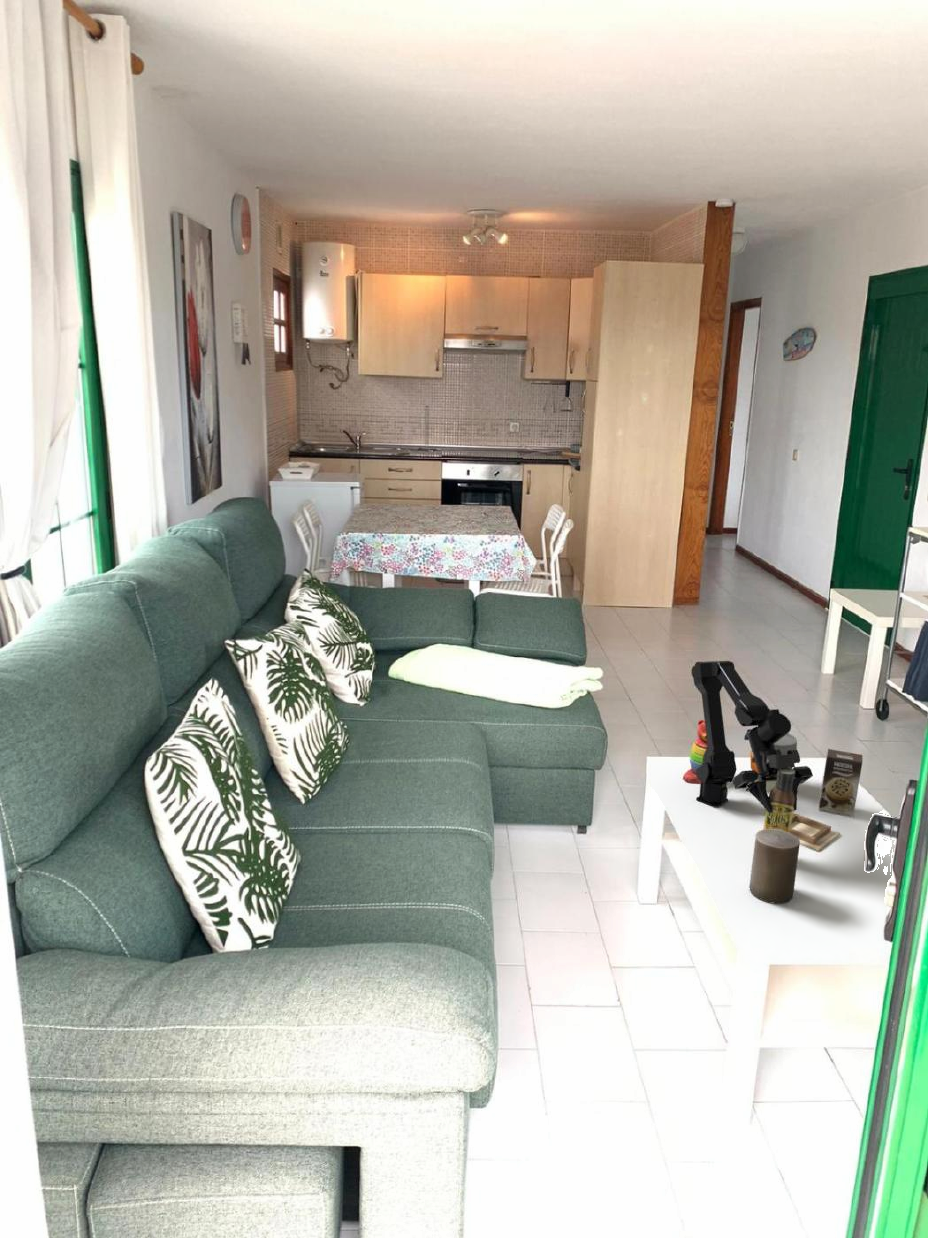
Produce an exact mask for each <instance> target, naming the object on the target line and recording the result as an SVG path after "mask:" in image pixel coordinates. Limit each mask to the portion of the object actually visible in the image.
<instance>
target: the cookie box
mask: <svg viewBox="0 0 928 1238" xmlns="http://www.w3.org/2000/svg"><path fill="white" fill-rule="evenodd" d="M826 752H827V753H826V758H825V763H824V764H825V765H824V770H823V778H822V781H821V782H822V784H821V789H820V795H819V800H818V801H819V803H818V811H819V812H824V813H830V814H834V815H840V816H845V817H850V818H854V816H855V809H856V803H857V797H858V793H859V785H860V780H861V773H862V772H861V771H862V766H863V755H862V754H860V753H859V754H858V753H853V752H848V751H841V750H836V749H831V748H828V749H827V751H826Z"/></svg>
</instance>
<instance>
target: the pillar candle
mask: <svg viewBox="0 0 928 1238" xmlns="http://www.w3.org/2000/svg"><path fill="white" fill-rule="evenodd" d="M754 835H755V838H754V846H753V847H754V848H753V855H752V862H751V863H752V864H751V870H750V872H751V873H750V878H749V886H748V887H749V888H750V890H749V892H750V891H751V892H750V893H751V894H752V895H753V896H754V895H755V896H757V897H758V898H757V897H756V898H757V899H759V898H761V899H760V900H762V901H764V900H765V901H764V902H766V901H767V903H771V902H774V903H773V904H784V903H789V902H790V901H791V900H792V899H794V898H793V897H794V892H795V891H794V890H795V883H796V878H797V877H796V875H797V868H798V861H799V860H798V859H799V851H800V846H801V845H800V841H799V839H798V838H797V837H796V836H795V835H793V834H791V833H789V832H786V831H783V830H778V829H763V828H762V829H761V830H758V831H757V832H756V833H755V834H754ZM755 896H754V897H755Z"/></svg>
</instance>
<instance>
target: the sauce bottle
mask: <svg viewBox="0 0 928 1238" xmlns="http://www.w3.org/2000/svg"><path fill="white" fill-rule="evenodd" d="M794 777H795V771H794V770H793V768H792V769H791V768H788V767H784V768H778V771H777V781H776V785H775V787H774V788H773V789H772V790H771V792H768V793H769V794H768V797H769V800H770V803H771V807H772V812H771V813H769V812H768V811H767V810H766V809H765V815H764V821H763V822H764V823H763V827H762V830H763V829H778V830H783V831H786V832H789V833H790V829H791V822H792V817H793V814H794V812H795V811H794V803H795V796H794V793H793V791H792V784H793V779H794Z"/></svg>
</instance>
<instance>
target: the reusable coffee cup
mask: <svg viewBox="0 0 928 1238" xmlns="http://www.w3.org/2000/svg"><path fill="white" fill-rule="evenodd" d="M775 746H776V750H778V749H780V751H781V753H782V755H784V754H787V751H788V750H797V751H798V739H797V738H796V737H795V736H794V735H792V734H790V732H789V733H787V734H786V735H785V736H784V737H783V738H781V739H780V740H779V741H778V742H776V743H775ZM749 754H750V755H749V756H750V757H749V758H750V769H751V770H755V771H756V772H757V773H758V769H757V766H756V763H753V762H752V758H754V756H753V752H752V750H751V751H750V753H749ZM788 768H791V767H788ZM791 769H793V767H792V768H791ZM775 785H776V781H768V782H766V791H767V793H770V792H771V790H772V789H773V788H774V787H775Z"/></svg>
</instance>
